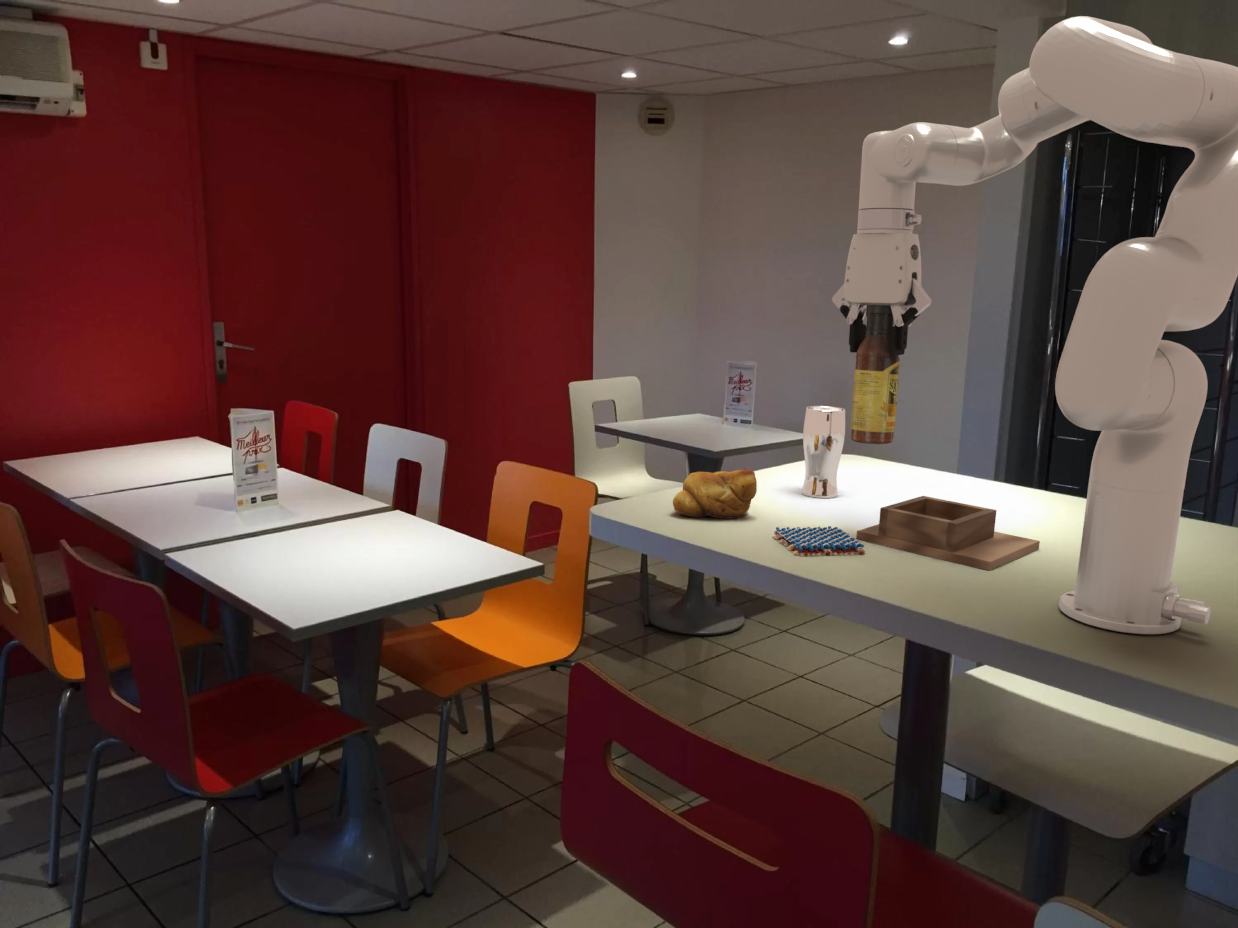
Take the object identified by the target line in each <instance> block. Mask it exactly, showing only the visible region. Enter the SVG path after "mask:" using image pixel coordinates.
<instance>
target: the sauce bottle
mask: <svg viewBox="0 0 1238 928" xmlns="http://www.w3.org/2000/svg"><path fill="white" fill-rule="evenodd" d="M865 317H866V331H865V332H866V337H865V339H864V340H863V342H862V343H861V344H860V346H859V348H858V350H857V352H855V354H856V355H855V369H854V370H853V371H854V374H853V375H854V376H853V385H852V386H853V389H852V390H853V391H852V400H851V401H852V403H851V404H852V405H851V419H850V420H851V421H850V431H851V432H850V439H851V441H853V442H855V443H859V444H865V445H866V444H868V445H871V444H872V445H886V444H891V443H892V442H893V439H894V433H895V430H896V418H897V416H896V415H897V405H898V393H899V391H898V388H899V379H900V378H899V377H900V365H901V364H900V362H901V359H900V355H891V354H889V349H890V334H891V328H892V326H894V324H895V321H894V317H893V314H892V310H891V306H890V305H867V308H866V315H865Z"/></svg>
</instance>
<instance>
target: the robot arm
mask: <svg viewBox="0 0 1238 928" xmlns="http://www.w3.org/2000/svg"><path fill="white" fill-rule="evenodd" d="M1028 65H1029V66H1028V67H1027V68H1025V69H1023V70H1021V71H1019V72H1017V73H1015V74H1013V75H1011V76H1010V77H1009V78H1007V79H1006V80H1005V81H1004V82H1003V84H1002V85H1001V88H1000V90H999V91H998V92H999V93H998V97H997V98H998V99H997V110H998V113H999V114H998V115H997V116H995V117H993V118H990V119H987V120H986V121H984V122H982V123H979V124H977V125H974V126H972V127H961V126H957V125H949V124H943V123H942V124H941V123H940V124H939V123H933V122H924V121H921V122H920V121H918V122H913V123H909V124H906V125H903V126H901V127H899V128H896V129H894V130H881V131H875V132H872V133H869V134H867V136H866V137H864V140H863V143H862V150H861V163H860V164H861V166H860V179H859V180H860V184H859V194H858V195H859V197H858V201H859V202H858V216H857V231H856V233H853V235H852V239H851V243H850V245H849V250H848V254H847V259H846V260H847V261H846V267H845V275H844V283H843V284H842V285H841V286H840V288H839V289H838V290H837V291H836V292H835V294H833V296H832V297H831V302H832V303H833V304H834V305H835V306H836V307H837V309H839V311H840V313H841V314H842V316H843V317H844V318H845V320H846V323H847V324H848V325H849V331H848V332H849V334H848V337H849V338H848V346H849V351H850V353H857V350H858V348H859V346H860V344H861V343H862V342H863V340H864V339H865V337H866V332H865V331H866V327H867V323H866V324H864V320H865V317H866V308H867V305H890V306H891V310H892V314H893V317H894V319H893V320H894V325H893V326H892V328H891V334H890V349H889V354H891V355H898V356H902V355H905V350H906V349H907V346H908V333H909V332H908V330H909V327H910V326H912V324H913V322H914V321H915V320H916V319H917V318H918V317H919V316H920V315H921V313H922V312H924V311H925V310H927V308H928V307H930V306H931V304H932V302H933V301H932V298H930V296H929V295H928V293H927V292H926V290H925V289H924V288H923V286H922V257H921V256H922V255H921V246H920V239H919V235H918V233H913V230H915V228H914V227H915V226H916V225H921V223H922V221H923V220H922V219H923V218H922V214H916V211H915V198H916V184H917V183H921V184H923V183H925V184H937V185H938V184H939V185H947V186H955V187H959V186H961V187H962V186H969V185H973V184H976V183H980V182H982V181H985V180H987V179H991V178H992V177H995V176H997V175H999V174H1002V173H1005V172H1006V171H1008V170H1011V169H1013V168H1015V167H1016V166H1018V165H1019V164H1020V163H1022V162H1023V161H1024V160H1025V159H1026V158H1027V157H1028V156H1029V155H1030V154H1031V153H1032V152H1033V151H1034V150H1035V148H1036V147H1037V145H1038V143H1040V142H1042V141H1045V140H1047V139H1049V138H1052V137H1053V136H1056V135H1059V134H1060V133H1062V132H1065V131H1067V130H1069V129H1072V128H1074V127H1076V126H1078V125H1080V124H1081V125H1082V124H1083V123H1085V122H1089V121H1092V122H1094V123H1096V124H1098V125H1100V126H1101V127H1102V126H1103V127H1105V128H1106V129H1107V130H1108V129H1109V130H1110V131H1113V132H1115V133H1117V134H1120V135H1122V136H1124V137H1125V138H1126V137H1127V138H1130V139H1133V140H1136V141H1139V142H1145V143H1153V144H1159V145H1166V146H1171V147H1180V148H1183V147H1184V148H1188V149H1190V150H1191V151H1193V152H1194V158H1193V160H1192V162H1191V163H1190V165H1188V168H1187V169H1185V171H1184V173H1182V175H1181V176H1180V178H1179V179H1178V181H1177V182H1176V184H1175V185H1174V187H1173V190H1172V191H1171V194H1170V196H1169V198H1168V201H1167V204H1166V208H1165V211H1164V214H1163V217H1162V219H1161V221H1160V224H1159V226H1158V227H1159V228H1158V229H1157V231H1156V233H1155V235H1154V236H1153V237H1152V236H1150V237H1149V236H1145V237H1143V236H1142V237H1135V238H1130V239H1126V240H1124V241H1122V242H1120V243H1118V244H1116V245H1115V246H1113V247H1111V248H1110V249H1109V250H1108V251H1107V252H1105V253H1104V254H1103V255H1102V256H1101V258H1100V259H1099V260H1098V261H1097V262H1096V264H1095V265H1094V267H1092V269H1091V272H1090V273H1089V275H1088V276H1087V279H1086V281H1085V283H1084V286H1083V289H1082V291H1081V293H1080V294H1081V295H1080V297H1079V301H1078V304H1077V306H1076V309H1075V313H1074V315H1073V320H1072V321H1071V325H1070V328H1069V332H1068V334H1067V337H1066V340H1065V344H1064V347H1063V350H1062V352H1061V356H1060V359H1059V362H1058V365H1057V366H1058V367H1057V370H1056V377H1055V381H1054V382H1055V383H1054V385H1055V388H1054V391H1055V397H1056V398H1055V399H1056V403H1057V404H1058V407H1059V409H1060V410H1061V413H1062V414H1063V416H1064V417H1065V418H1066V419H1067V420H1068V421H1069V422H1071V423H1072V424H1073V425H1075V426H1077V427H1079V428H1081V429H1085V430H1089V431H1098V432H1100V435H1099V437H1098V439H1097V441H1096V444H1095V447H1094V451H1093V454H1092V455H1093V456H1092V460H1091V464H1090V471H1089V479H1088V485H1087V495H1086V503H1085V508H1084V509H1085V511H1084V517H1083V518H1084V520H1083V524H1082V525H1083V527H1082V532H1081V533H1082V535H1081V544H1080V550H1079V558H1078V568H1077V573H1076V574H1077V575H1076V582H1075V583H1076V584H1075V590H1071V591H1070V590H1069V591H1067V592H1064V593H1063V594H1061V595H1060V596H1059V601H1058V608H1059V610H1060V611H1061V612H1063V614H1065V615H1066V616H1068V618H1069V617H1070V618H1072V619H1074V620H1075V621H1078V622H1080V623H1083V624H1085V625H1089V626H1092V627H1096V628H1100V629H1104V630H1109V631H1113V632H1118V633H1119V632H1120V633H1128V634H1137V635H1162V634H1163V635H1164V634H1169V633H1172V632H1175V631H1177V630H1178V629H1179V628H1181V624H1182V623H1181V622H1182V619H1186V620H1187V621H1189V622H1190V621H1191V622H1193V623H1194V622H1195V623H1199V624H1203V625H1207V624H1208V622H1209V620H1210V617H1211V607H1210V606H1207V605H1205V602H1204V601H1201V600H1195V599H1191V598H1190V599H1189V598H1185V597H1182V594H1179V593H1178V589H1179V583H1176V582H1171V581H1172V574H1173V568H1174V561H1175V554H1176V546H1177V541H1178V540H1177V539H1178V532H1179V526H1180V519H1181V513H1182V505H1183V499H1184V490H1185V489H1186V488H1185V487H1186V479H1187V472H1188V468H1189V462H1190V461H1189V460H1190V456H1191V451H1192V447H1193V446H1192V445H1193V443H1194V439H1195V434H1196V431H1197V428H1198V427H1199V426H1198V425H1199V423H1200V420H1201V416H1202V414H1203V411H1204V407H1205V404H1206V400H1207V395H1208V375H1207V372H1206V369H1205V366H1204V364H1203V362H1202V361H1201V359H1200V358H1199V357H1198V355H1197V354H1196V353H1195V352H1193V350H1191V349H1190V348H1188V347H1187V346H1185V345H1183V344H1181V343H1178V342H1174V341H1171V340H1168V339H1167V340H1166V339H1162V338H1163V335H1164V333H1165V332H1188V331H1192V330H1198V329H1202V328H1204V327H1207V326H1208V325H1210V324H1212V323H1213V322H1214V321H1216V320H1217V319H1218V318H1219V317H1220V316H1221V314H1222V313H1223V312H1224V310H1225V308H1226V306H1227V303H1228V301H1229V299H1230V297H1231V295H1232V292H1233V289H1234V286H1235V284H1236V281H1237V278H1238V66H1235V65H1232V64H1230V63H1229V64H1228V63H1224V62H1221V61H1218V60H1217V61H1216V60H1212V59H1209V58H1208V59H1207V58H1202V57H1196V56H1193V55H1188V54H1184V53H1180V52H1175V51H1173V50H1170V49H1166V48H1163V47H1161V46H1158V45H1155V44H1153V42H1152V41H1151V39H1150V38H1149V36H1147V35H1146V34H1144V33H1143V32H1142V31H1140V30H1138V29H1137V28H1134V27H1132V26H1129V25H1126V24H1122V23H1118V22H1113V21H1110V20H1105V19H1102V18H1097V17H1092V16H1087V15H1086V16H1083V15H1079V16H1071V17H1068V18H1066V19H1063V20H1061V21H1059V22H1058V23H1056V24H1054V25H1053V26H1051V27H1049V29H1047V30H1046V32H1045V33H1043V35H1041V37H1040V38H1039V39H1038V41H1037V42H1036V44H1035V45H1034V47H1033V50H1032V52H1031V56H1030V59H1029V64H1028Z"/></svg>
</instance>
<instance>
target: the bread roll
mask: <svg viewBox="0 0 1238 928" xmlns="http://www.w3.org/2000/svg"><path fill="white" fill-rule="evenodd" d="M757 483H758V482H757V478H756V474H755V471H754V470H752V469H750V468H743V469H737V470H733V471H724V470H722V471H721V470H720V471H714V472H710V471H696V472H691V473H689V475H688V476H687V477H686V478H685V480H683V483H682V490H680V491H679V492H677V493H676V494H675V495H674V497H673V499H672V506H673V509H674V510H675V511H676V513H678V514H680V515H684V516H687V517H692V518H693V517H695V518H702V517H708V516H709V517H712V518H717V519H725V520H727V519H734V518H735V519H736V518H740V517H743V516H744V515H745V514H746V513H748V511H749V509H750V507H751V503H752V500H753V499H754V498H755V496H756V495H757V490H758V485H757Z"/></svg>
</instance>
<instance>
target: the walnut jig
mask: <svg viewBox="0 0 1238 928" xmlns="http://www.w3.org/2000/svg"><path fill="white" fill-rule="evenodd" d="M879 509H880V510H879V521H878V523H879V524H875V525H872V526H869V527H866V528H865V527H864V528H862V529H858V530H856V537H855V539H857V541H859V540H860V541H863V542H868V543H871V544H876V545H880V546H884V547H889V548H894V549H897V550H901V551H906V552H910V553H914V554H918V555H922V556H927V557H930V558H935V559H939V560H943V561H946V562H947V561H948V562H952V563H955V564H960V565H965V566H969V567H973V568H977V569H980V570H981V569H982V570H985V571H992V570H994V569H997V568H999V567H1001V566H1003V565H1007V564H1009V563H1011V562H1013V561H1015V560H1017V559H1020V558H1022V557H1024V556H1027V555H1029V554H1031V553H1034V552H1035V551H1038V550H1040V543H1041V541H1040V540H1036V539H1031V538H1026V537H1022V536H1018V535H1012V534H1009V533H1008V534H1007V533H1004V532H1003V533H1002V532H999V531H995V530H996V529H995V528H996V527H995V526H996V520H997V519H996V516H997V509H991V508H989V507H984V506H977V505H972V504H967V503H963V502H957V501H952V500H947V499H941V498H935V497H932V496H931V497H930V496H926V495H921V496H918V497H913V498H911V499H908V500H903V501H899V502H896V503H893V504H889V505H887V506H886V505H885V506H883V507H880V508H879Z"/></svg>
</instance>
